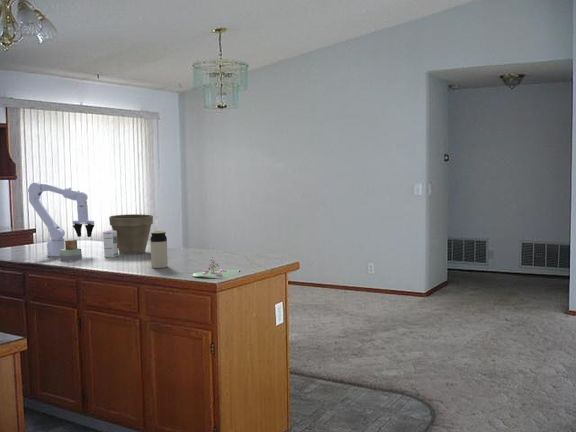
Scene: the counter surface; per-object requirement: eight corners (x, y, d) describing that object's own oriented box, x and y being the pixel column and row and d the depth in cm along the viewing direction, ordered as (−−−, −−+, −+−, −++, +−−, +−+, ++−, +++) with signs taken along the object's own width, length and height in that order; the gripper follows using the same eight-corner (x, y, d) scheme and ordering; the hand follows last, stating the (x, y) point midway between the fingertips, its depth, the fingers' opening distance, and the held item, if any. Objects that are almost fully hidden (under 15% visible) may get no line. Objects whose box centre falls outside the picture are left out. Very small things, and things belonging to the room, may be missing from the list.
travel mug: (168, 267, 313) (167, 231, 311) (152, 269, 310) (150, 232, 309) (166, 265, 320) (165, 230, 319) (150, 266, 318) (149, 231, 316)
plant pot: (161, 252, 366) (159, 215, 364) (119, 257, 352) (118, 218, 350) (144, 248, 387) (143, 213, 385) (104, 252, 373) (103, 215, 371)
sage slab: (60, 255, 346) (59, 249, 346) (72, 253, 353) (72, 247, 353) (69, 256, 342) (69, 250, 341) (81, 254, 348) (81, 248, 348)
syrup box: (113, 257, 353) (112, 231, 351) (103, 257, 354) (102, 231, 353) (118, 255, 358) (117, 230, 357) (108, 255, 359) (107, 230, 358)
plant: (217, 269, 309) (216, 251, 308) (251, 272, 298) (251, 253, 297) (182, 277, 288) (182, 258, 287) (218, 281, 277) (217, 261, 276)
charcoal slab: (60, 260, 346) (60, 255, 346) (71, 258, 353) (71, 253, 353) (71, 261, 342) (70, 256, 342) (82, 259, 349) (81, 254, 349)
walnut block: (65, 249, 346) (64, 240, 346) (70, 248, 350) (69, 239, 350) (72, 249, 345) (72, 240, 344) (77, 248, 349) (76, 239, 349)
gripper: (97, 212, 363) (98, 236, 364) (78, 212, 370) (79, 235, 371) (88, 213, 357) (90, 237, 358) (69, 213, 363) (71, 237, 364)
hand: (84, 236), depth 364 cm, fingers open, 7 cm apart
